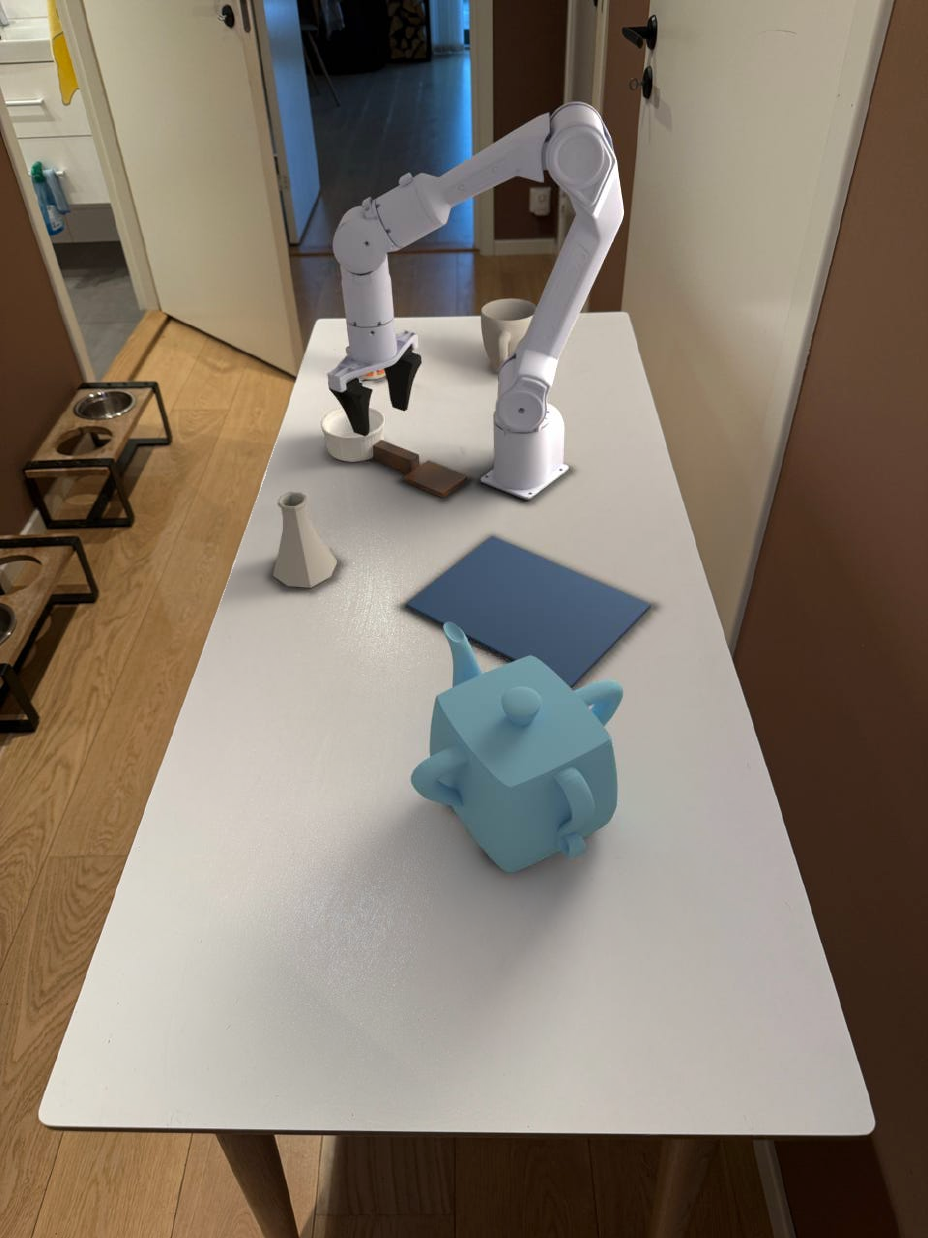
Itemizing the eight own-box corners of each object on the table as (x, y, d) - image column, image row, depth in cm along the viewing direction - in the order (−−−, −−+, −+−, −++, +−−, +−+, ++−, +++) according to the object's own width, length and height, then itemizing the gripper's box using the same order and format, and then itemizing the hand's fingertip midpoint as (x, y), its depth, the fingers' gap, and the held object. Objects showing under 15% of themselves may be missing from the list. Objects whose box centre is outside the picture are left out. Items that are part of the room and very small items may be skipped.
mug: (487, 354, 151) (485, 296, 145) (540, 357, 150) (541, 299, 144) (474, 388, 143) (472, 328, 136) (530, 391, 141) (531, 331, 135)
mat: (492, 538, 113) (492, 535, 112) (650, 606, 102) (651, 604, 102) (405, 606, 103) (405, 603, 103) (569, 689, 93) (570, 686, 92)
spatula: (349, 458, 128) (347, 443, 127) (374, 442, 131) (373, 427, 130) (443, 498, 120) (442, 482, 118) (468, 480, 123) (467, 464, 121)
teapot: (635, 763, 85) (649, 655, 76) (587, 911, 74) (597, 805, 65) (452, 715, 91) (445, 610, 82) (381, 846, 79) (364, 740, 70)
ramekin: (390, 431, 133) (387, 404, 130) (385, 464, 126) (382, 436, 123) (329, 433, 133) (325, 405, 131) (320, 465, 127) (316, 437, 124)
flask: (262, 579, 108) (246, 508, 102) (298, 546, 113) (285, 475, 106) (313, 596, 105) (300, 523, 99) (348, 561, 110) (337, 490, 104)
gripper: (384, 290, 116) (393, 390, 124) (302, 331, 107) (319, 435, 116) (428, 302, 112) (434, 403, 121) (348, 345, 104) (361, 451, 112)
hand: (380, 420), depth 118 cm, fingers open, 7 cm apart
